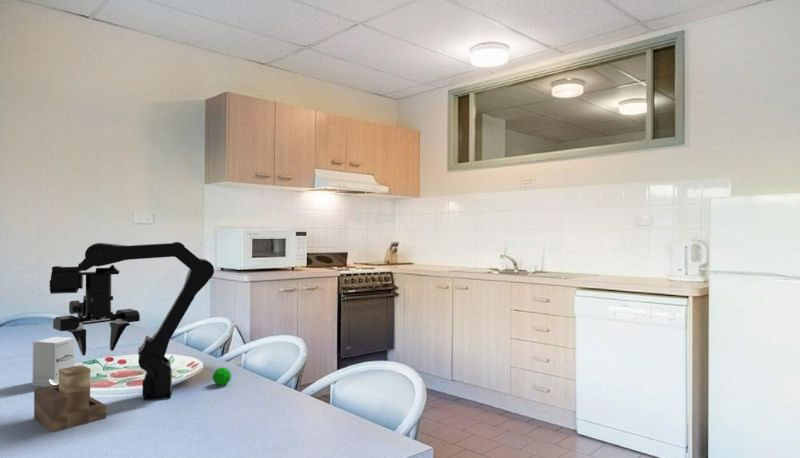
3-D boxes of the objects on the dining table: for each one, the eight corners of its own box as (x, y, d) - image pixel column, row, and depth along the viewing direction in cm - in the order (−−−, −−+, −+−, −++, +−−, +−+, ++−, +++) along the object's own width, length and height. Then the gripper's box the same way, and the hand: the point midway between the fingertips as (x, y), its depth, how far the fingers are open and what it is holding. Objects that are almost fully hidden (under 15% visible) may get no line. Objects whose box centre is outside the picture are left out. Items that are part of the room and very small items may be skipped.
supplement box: (53, 388, 147) (54, 343, 146) (31, 386, 148) (31, 341, 148) (75, 380, 154) (75, 337, 154) (53, 378, 155) (54, 336, 155)
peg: (82, 393, 129) (82, 365, 129) (90, 398, 126) (90, 368, 126) (58, 398, 125) (58, 369, 125) (66, 403, 122) (66, 373, 122)
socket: (86, 406, 133) (86, 378, 133) (105, 417, 125) (106, 388, 125) (34, 418, 124) (34, 389, 124) (52, 432, 116) (52, 400, 116)
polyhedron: (208, 386, 150) (209, 369, 150) (220, 381, 155) (221, 365, 155) (222, 388, 148) (223, 371, 148) (234, 383, 153) (234, 367, 153)
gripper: (122, 286, 147) (122, 341, 147) (45, 292, 132) (45, 354, 133) (141, 290, 140) (140, 348, 140) (61, 296, 125) (61, 362, 125)
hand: (98, 352), depth 135 cm, fingers open, 6 cm apart
